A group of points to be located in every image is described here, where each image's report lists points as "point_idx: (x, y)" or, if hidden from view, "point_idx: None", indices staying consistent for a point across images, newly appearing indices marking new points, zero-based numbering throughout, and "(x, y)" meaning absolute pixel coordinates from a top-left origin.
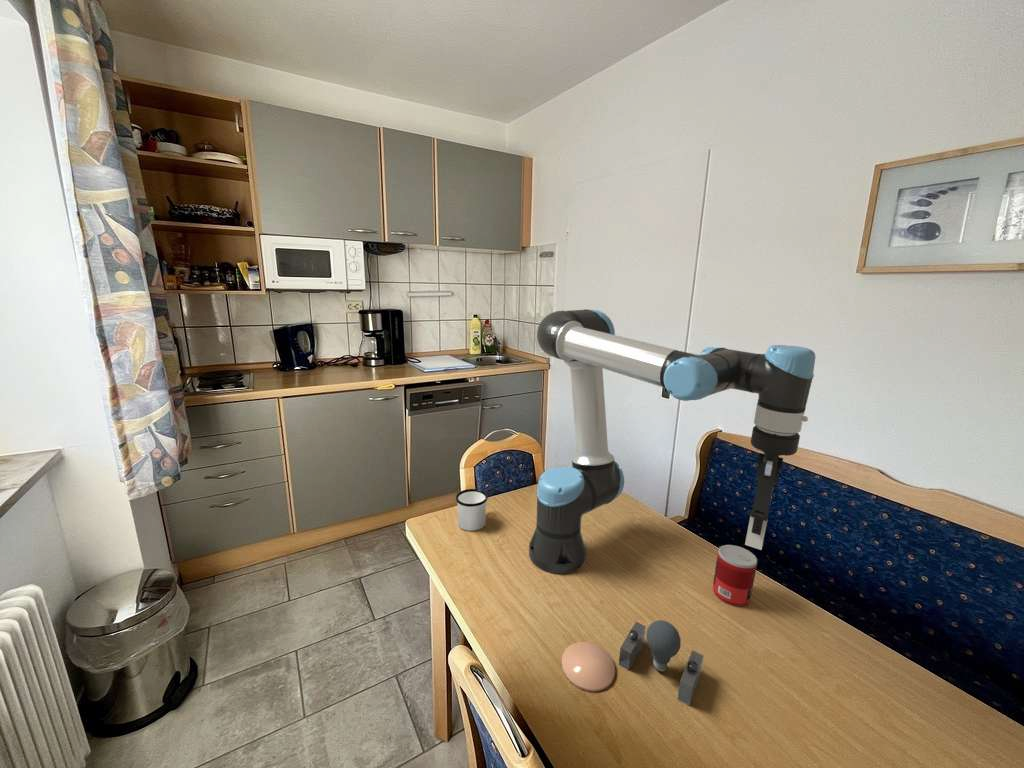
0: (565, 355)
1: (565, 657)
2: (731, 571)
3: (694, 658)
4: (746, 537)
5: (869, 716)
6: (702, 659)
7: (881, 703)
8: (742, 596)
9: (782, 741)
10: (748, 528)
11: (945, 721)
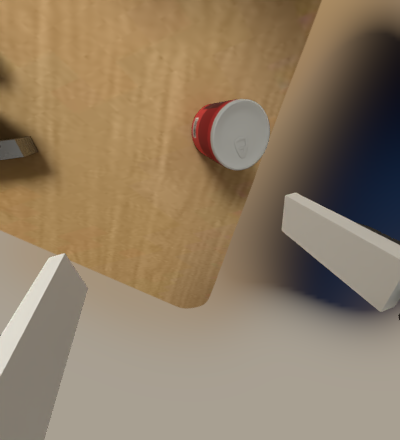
0: None
1: None
2: (205, 137)
3: (2, 148)
4: (36, 279)
5: (146, 265)
6: (17, 157)
7: (168, 266)
8: (202, 152)
9: (48, 237)
10: (13, 320)
11: (184, 288)
